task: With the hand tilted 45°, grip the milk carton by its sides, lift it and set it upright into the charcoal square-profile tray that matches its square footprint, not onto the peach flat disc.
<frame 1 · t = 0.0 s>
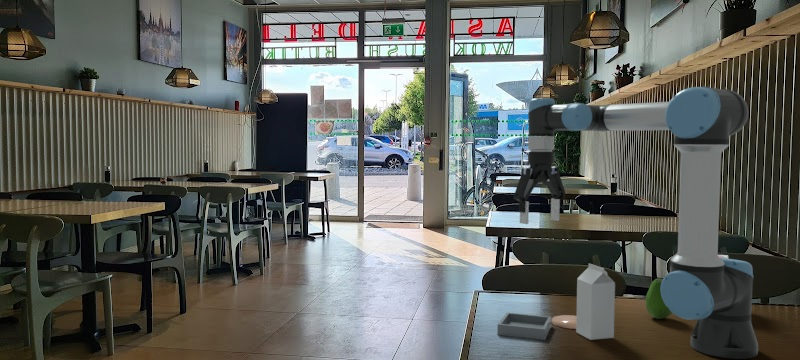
hand: (539, 222, 189), 28 cm above the table, tool pointing down, fingers open, 13 cm apart
peach flat disc: (571, 323, 182), on the table
avocado: (659, 319, 187), on the table
square tray: (524, 330, 175), on the table
milk carton: (594, 336, 170), on the table
candy box: (716, 310, 196), on the table
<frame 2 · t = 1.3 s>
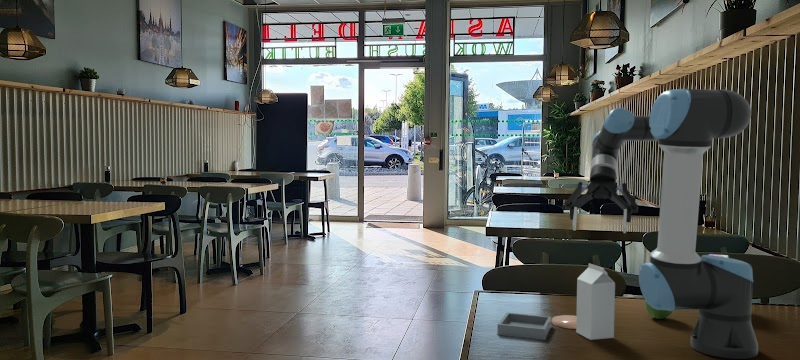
hand: (599, 229, 178), 27 cm above the table, tool tilted 45°, fingers open, 13 cm apart
nothing on the table moved.
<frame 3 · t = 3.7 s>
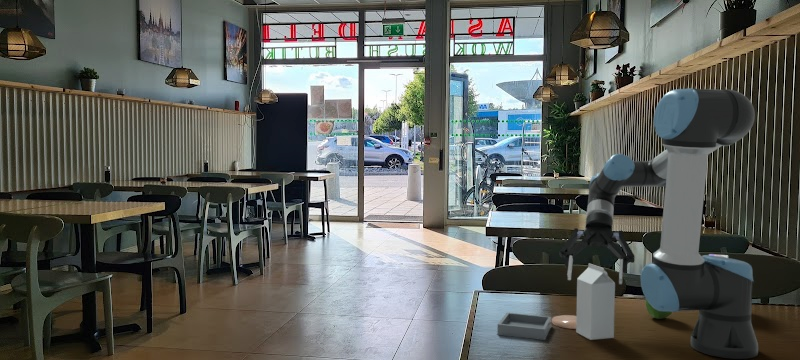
hand: (594, 279, 174), 14 cm above the table, tool tilted 45°, fingers open, 13 cm apart
nothing on the table moved.
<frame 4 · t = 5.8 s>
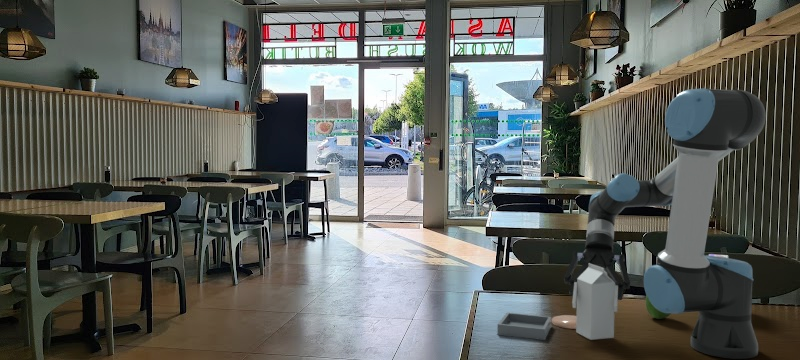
hand: (594, 307, 167), 8 cm above the table, tool tilted 45°, fingers closed on milk carton, 10 cm apart
milk carton: (594, 336, 170), on the table, touching gripper
everything else where it was.
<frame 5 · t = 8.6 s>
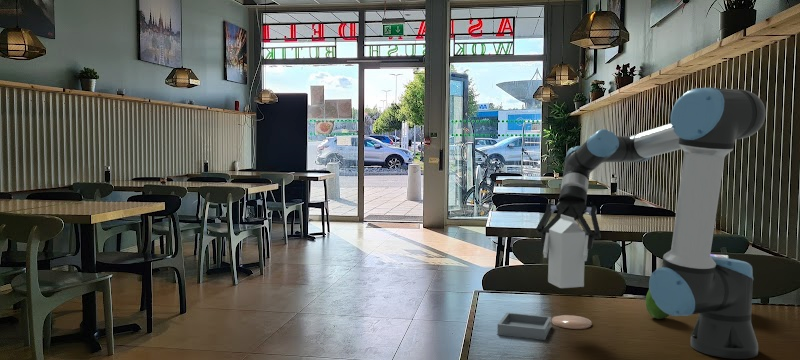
hand: (564, 256, 170), 21 cm above the table, tool tilted 45°, fingers closed on milk carton, 10 cm apart
milk carton: (565, 285, 173), point 13 cm above the table, touching gripper
everything else where it was.
when the fingers open (11 cm above the table, at t = 11.7 s): milk carton drops 2 cm, resting on square tray.
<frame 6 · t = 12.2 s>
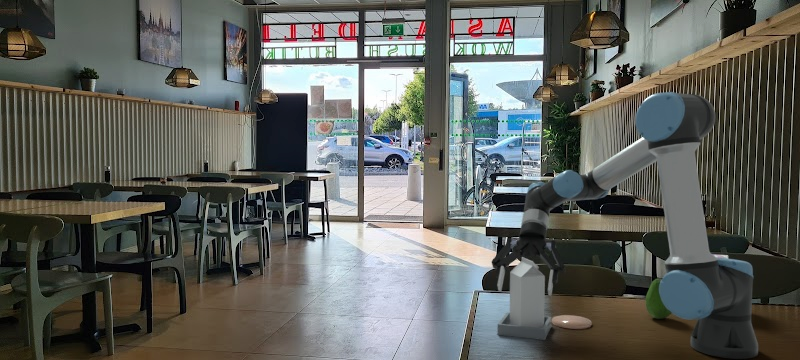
hand: (524, 290, 172), 12 cm above the table, tool tilted 45°, fingers open, 13 cm apart
milk carton: (526, 328, 175), point 1 cm above the table, touching square tray
everything else where it was.
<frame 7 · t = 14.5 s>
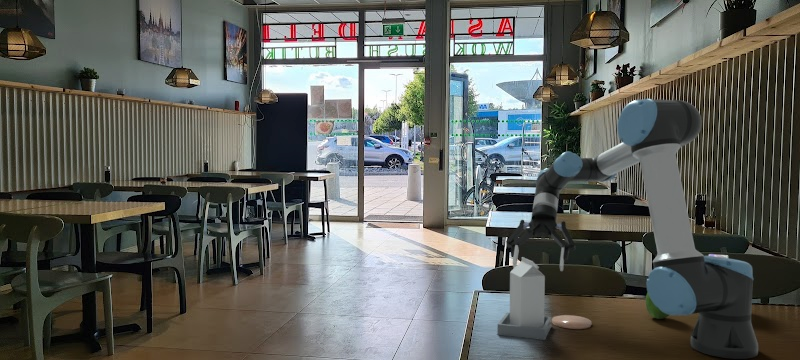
hand: (537, 267, 185), 15 cm above the table, tool tilted 45°, fingers open, 13 cm apart
nothing on the table moved.
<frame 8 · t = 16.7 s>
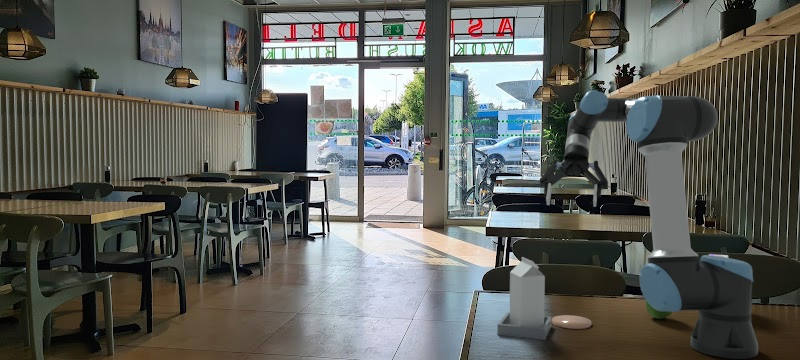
hand: (570, 203, 189), 34 cm above the table, tool tilted 45°, fingers open, 13 cm apart
nothing on the table moved.
at the end: milk carton inside the target area on the square tray (0.4 cm from its centre), point 0.6 cm above the square tray's base; milk carton tilted 0°; the gripper is holding nothing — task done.
